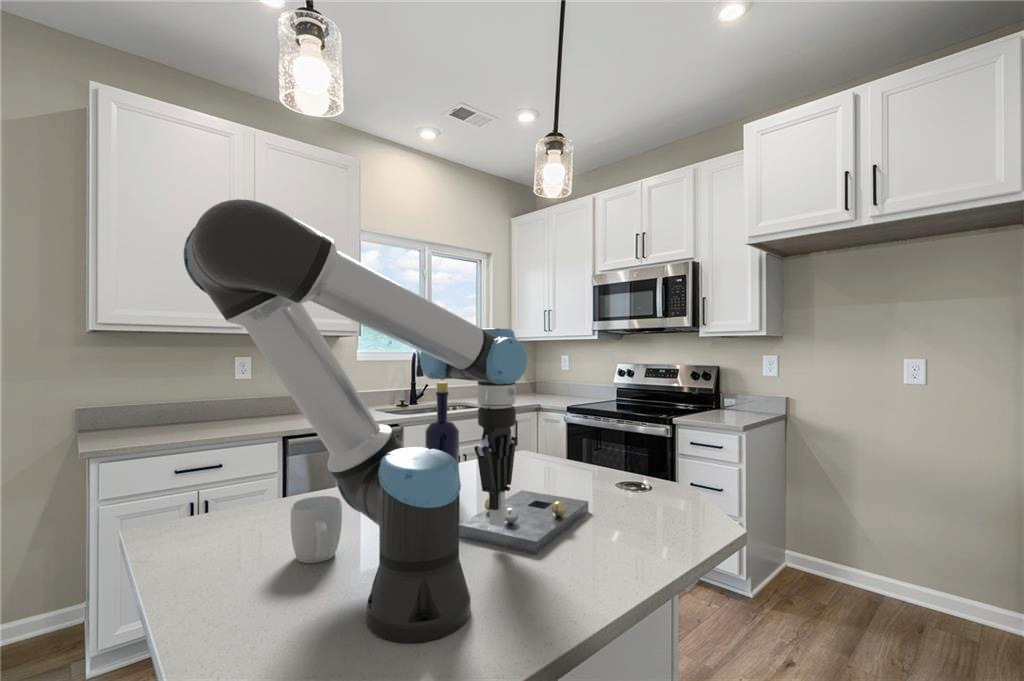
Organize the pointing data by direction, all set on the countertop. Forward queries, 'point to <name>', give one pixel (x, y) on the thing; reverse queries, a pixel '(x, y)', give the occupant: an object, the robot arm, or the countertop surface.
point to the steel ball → (511, 515)
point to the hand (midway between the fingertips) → (497, 524)
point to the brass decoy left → (487, 505)
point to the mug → (316, 528)
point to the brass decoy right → (558, 508)
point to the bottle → (443, 427)
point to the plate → (526, 522)
